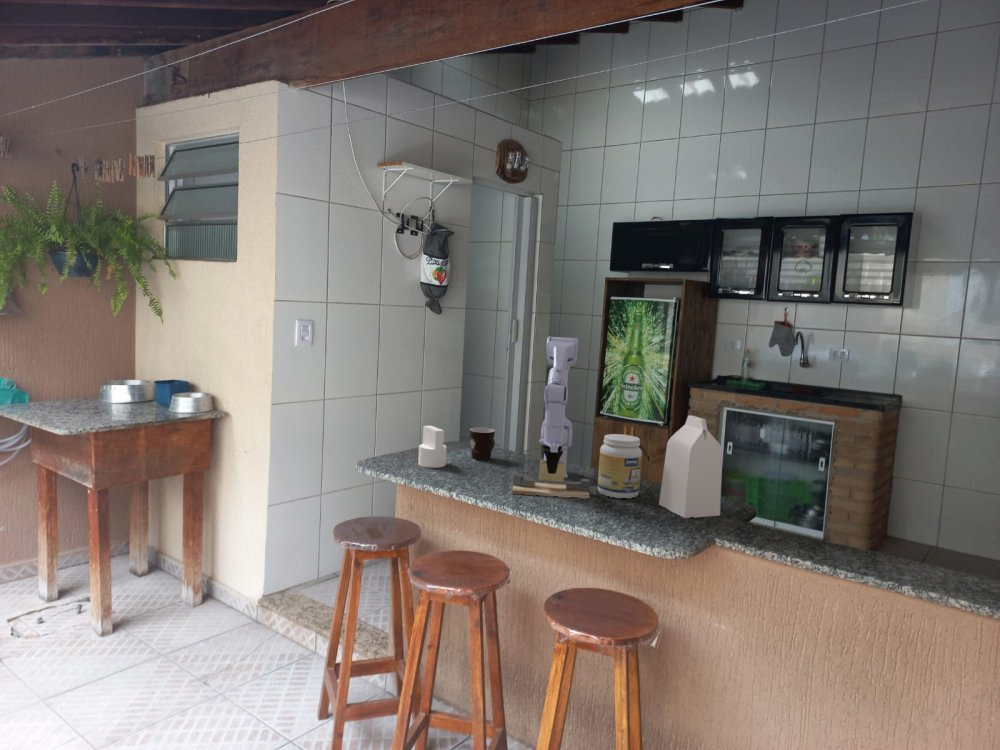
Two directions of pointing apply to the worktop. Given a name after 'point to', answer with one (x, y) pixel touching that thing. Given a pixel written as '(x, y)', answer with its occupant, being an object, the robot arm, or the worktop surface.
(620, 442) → the supplement tub
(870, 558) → the worktop surface
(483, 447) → the coffee mug
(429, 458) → the base with upright slab
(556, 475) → the gold rectangular block
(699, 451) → the milk
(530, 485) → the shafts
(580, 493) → the wooden board
